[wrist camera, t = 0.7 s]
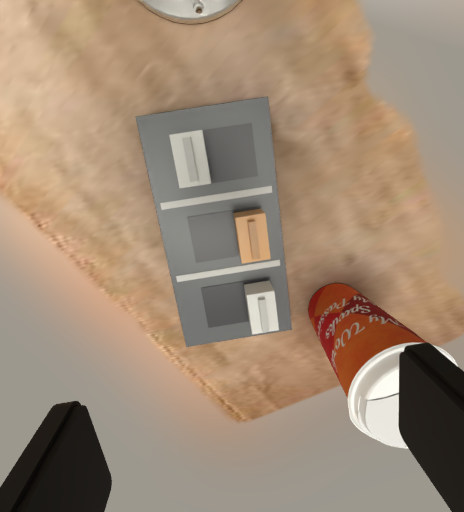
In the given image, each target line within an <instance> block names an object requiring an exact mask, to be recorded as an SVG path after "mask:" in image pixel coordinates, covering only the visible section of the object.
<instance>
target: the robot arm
mask: <svg viewBox="0 0 464 512" xmlns="http://www.w3.org/2000/svg"><path fill="white" fill-rule="evenodd" d="M138 1H139V2H141V3H142V4H143V5H144V6H145V7H146V8H147V9H149V10H150V11H152V12H154V13H155V14H157V15H159V16H160V17H163V18H165V19H168V20H171V21H174V22H178V23H186V24H195V23H205V22H208V21H211V20H214V19H217V18H219V17H221V16H222V15H224V14H226V13H228V12H229V11H231V10H232V9H233V8H234V7H235V6H236V5H237V4H238V3H240V2H241V1H242V0H138ZM197 9H201V10H202V13H200V14H198V13H196V10H197ZM398 426H399V431H400V434H401V437H402V439H403V441H404V442H405V444H406V445H407V447H408V448H409V450H410V451H411V452H412V454H413V455H414V457H415V458H416V460H417V461H418V463H419V464H420V466H421V467H422V468H423V470H424V471H425V473H426V474H427V476H428V477H429V479H430V480H431V482H432V483H433V485H434V486H435V488H436V489H437V491H438V492H439V493H440V495H441V496H442V498H443V499H444V501H445V502H446V504H447V505H448V507H449V508H450V510H451V511H452V512H464V372H463V371H462V370H461V369H460V368H459V367H458V366H456V365H455V364H454V363H453V362H452V361H451V360H449V359H448V358H447V357H446V356H445V355H443V354H442V353H441V352H440V351H439V350H437V349H436V348H435V347H434V346H433V345H431V344H430V343H420V344H414V345H408V346H406V347H405V348H404V352H401V353H400V355H399V422H398ZM111 485H112V480H111V474H110V472H109V469H108V466H107V463H106V460H105V457H104V455H103V452H102V449H101V446H100V443H99V440H98V438H97V435H96V432H95V429H94V426H93V424H92V421H91V418H90V416H89V412H88V410H87V408H86V406H83V405H82V406H81V404H80V403H79V402H78V401H73V402H67V403H61V404H56V405H54V406H53V407H52V408H51V410H50V411H49V413H48V414H47V416H46V417H45V419H44V421H43V422H42V424H41V425H40V427H39V428H38V430H37V431H36V433H35V434H34V436H33V438H32V439H31V441H30V443H29V444H28V445H27V447H26V448H25V450H24V451H23V453H22V455H21V456H20V458H19V459H18V461H17V462H16V464H15V466H14V467H13V469H12V470H11V472H10V473H9V475H8V476H7V478H6V479H5V481H4V482H3V484H2V486H1V487H0V512H104V511H105V508H106V504H107V500H108V498H109V494H110V491H111Z"/></svg>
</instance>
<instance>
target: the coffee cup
mask: <svg viewBox="0 0 464 512" xmlns="http://www.w3.org/2000/svg"><path fill="white" fill-rule="evenodd" d="M308 312H309V317H310V320H311V322H312V325H313V327H314V329H315V331H316V333H317V336H318V338H319V340H320V342H321V344H322V346H323V348H324V350H325V352H326V354H327V357H328V359H329V361H330V363H331V365H332V367H333V369H334V371H335V373H336V375H337V377H338V379H339V381H340V383H341V386H342V388H343V390H344V392H345V394H346V396H347V398H348V407H349V415H350V419H351V421H352V422H353V424H354V425H355V426H356V427H357V428H358V429H359V430H361V431H362V432H364V433H365V434H367V435H368V436H370V437H371V438H374V439H377V440H379V441H380V442H382V443H384V444H386V445H389V446H394V447H400V448H408V447H407V445H406V444H405V442H404V441H403V439H402V437H401V434H400V431H399V426H398V422H399V355H400V353H401V352H404V348H405V347H406V346H408V345H414V344H420V343H427V342H426V341H424V340H423V339H422V338H420V337H419V336H418V335H417V334H415V333H414V332H413V331H411V330H410V329H408V328H407V327H406V326H404V325H403V324H401V323H400V322H399V321H397V320H396V319H394V318H393V317H392V316H390V315H389V314H387V313H386V312H385V311H383V310H382V309H381V308H379V307H378V306H377V305H375V304H374V303H373V302H371V301H370V300H369V299H367V298H366V297H364V296H363V295H362V294H360V293H359V292H357V291H356V290H355V289H353V288H351V287H350V286H347V285H345V284H340V283H334V284H329V285H326V286H324V287H322V288H321V289H319V290H318V291H317V292H316V293H315V294H314V295H313V297H312V298H311V300H310V303H309V308H308ZM431 345H432V344H431ZM433 346H434V347H435V348H436V349H437V350H439V351H440V352H441V353H442V354H443V355H445V356H446V357H447V358H448V359H449V360H451V361H452V362H453V363H454V364H455V365H456V366H458V365H457V363H456V361H455V360H454V359H453V358H452V356H451V355H449V354H448V353H447V352H446V351H445V350H443V349H441V348H439V347H438V346H435V345H433Z"/></svg>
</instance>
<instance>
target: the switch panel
mask: <svg viewBox="0 0 464 512" xmlns="http://www.w3.org/2000/svg"><path fill="white" fill-rule="evenodd" d="M136 121H137V126H138V130H139V135H140V139H141V144H142V148H143V153H144V157H145V162H146V166H147V171H148V175H149V180H150V185H151V189H152V194H153V198H154V203H155V207H156V212H157V216H158V221H159V225H160V230H161V234H162V239H163V243H164V248H165V252H166V257H167V261H168V266H169V270H170V275H171V279H172V284H173V288H174V293H175V297H176V302H177V306H178V311H179V316H180V320H181V325H182V329H183V334H184V338H185V343H186V347H189V346H195V345H201V344H207V343H213V342H219V341H226V340H232V339H238V338H244V337H250V336H256V335H262V334H268V333H274V332H280V331H286V330H292V326H291V316H290V307H289V297H288V287H287V277H286V268H285V258H284V248H283V238H282V229H281V219H280V209H279V199H278V190H277V180H276V170H275V160H274V151H273V141H272V131H271V121H270V112H269V102H268V97H261V98H255V99H248V100H242V101H235V102H229V103H222V104H215V105H209V106H202V107H196V108H189V109H183V110H176V111H170V112H163V113H157V114H150V115H143V116H137V117H136ZM197 130H202V131H203V135H204V142H205V148H206V154H207V160H208V166H209V172H210V178H211V184H205V185H199V186H193V187H186V188H179V183H178V178H177V172H176V167H175V162H174V157H173V152H172V147H171V142H170V137H169V135H171V134H178V133H184V132H191V131H197ZM255 209H262V210H263V211H264V212H265V215H266V223H267V232H268V240H269V249H270V257H271V259H268V260H261V261H255V262H249V263H243V264H242V262H241V259H240V255H239V249H238V242H237V235H236V228H235V222H234V215H233V213H236V212H242V211H248V210H255ZM263 281H270V283H271V285H272V287H273V289H274V292H275V300H276V309H277V317H278V326H279V330H277V331H271V332H265V333H259V334H253V335H252V331H251V327H250V322H249V316H248V310H247V303H246V296H245V289H244V285H245V284H251V283H257V282H263Z"/></svg>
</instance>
